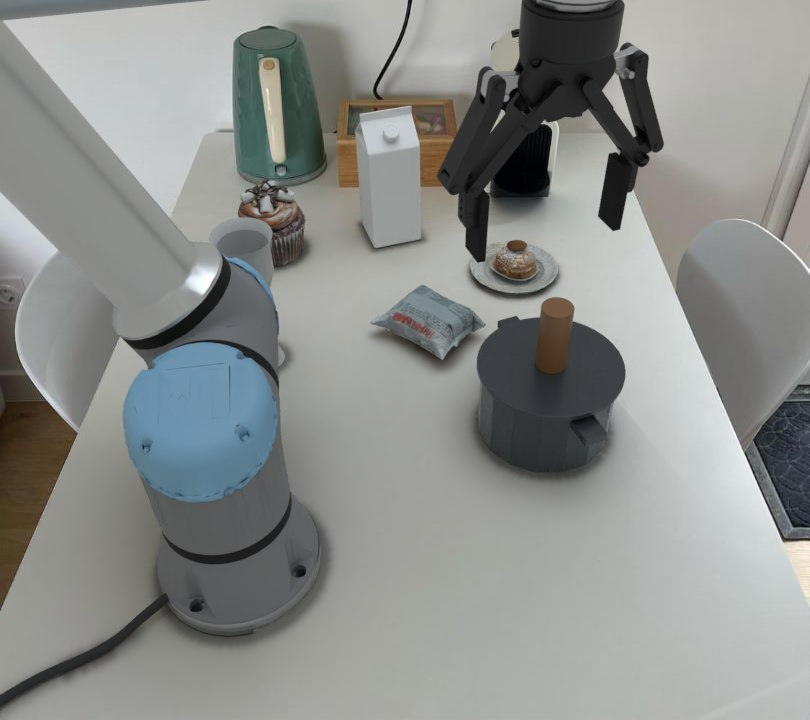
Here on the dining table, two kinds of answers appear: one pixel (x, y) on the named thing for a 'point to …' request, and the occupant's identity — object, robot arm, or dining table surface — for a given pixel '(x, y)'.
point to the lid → (551, 366)
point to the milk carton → (389, 176)
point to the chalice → (247, 248)
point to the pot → (540, 435)
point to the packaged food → (430, 320)
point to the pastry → (515, 267)
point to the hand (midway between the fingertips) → (543, 238)
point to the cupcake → (276, 218)
